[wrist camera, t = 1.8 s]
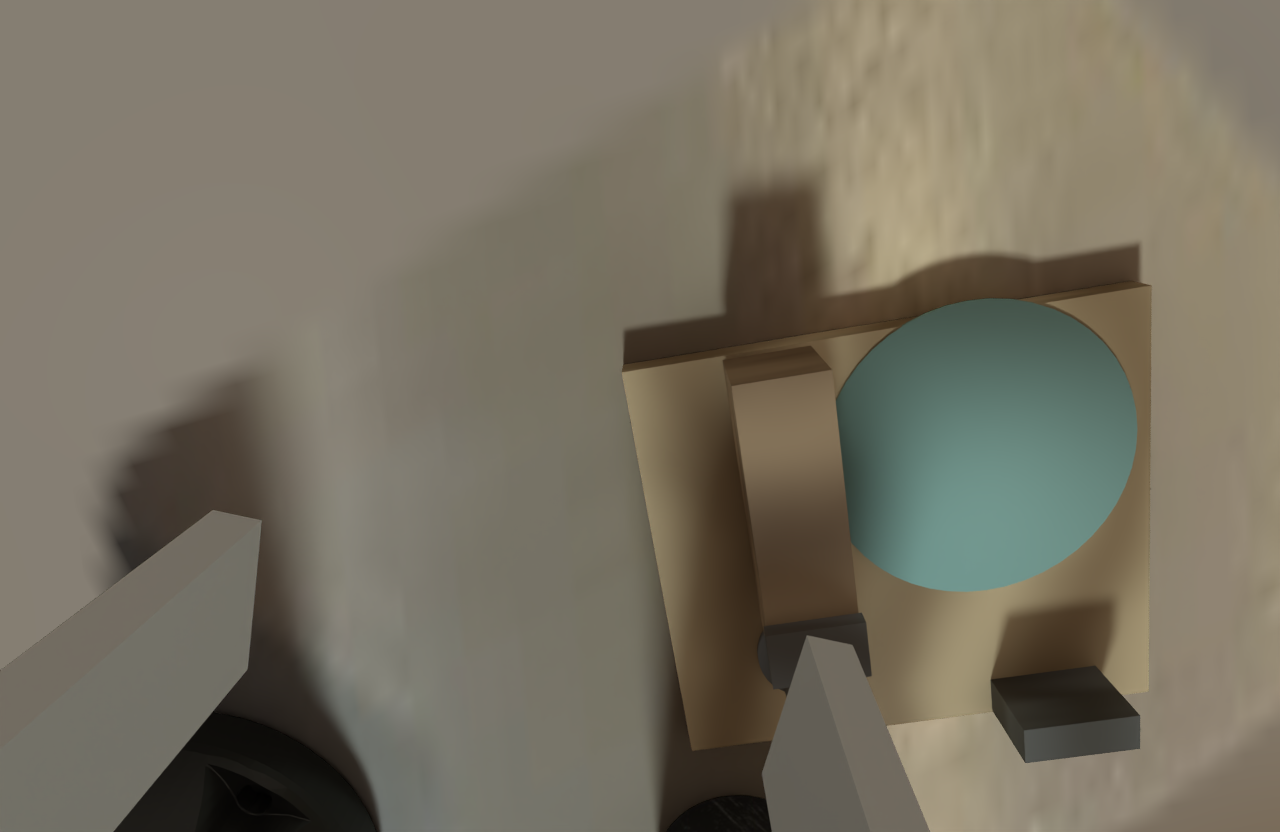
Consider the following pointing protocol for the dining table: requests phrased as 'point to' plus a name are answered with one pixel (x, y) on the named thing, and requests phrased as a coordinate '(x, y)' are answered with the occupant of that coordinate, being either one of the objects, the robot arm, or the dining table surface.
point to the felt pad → (983, 444)
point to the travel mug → (725, 816)
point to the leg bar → (795, 504)
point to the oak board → (893, 608)
